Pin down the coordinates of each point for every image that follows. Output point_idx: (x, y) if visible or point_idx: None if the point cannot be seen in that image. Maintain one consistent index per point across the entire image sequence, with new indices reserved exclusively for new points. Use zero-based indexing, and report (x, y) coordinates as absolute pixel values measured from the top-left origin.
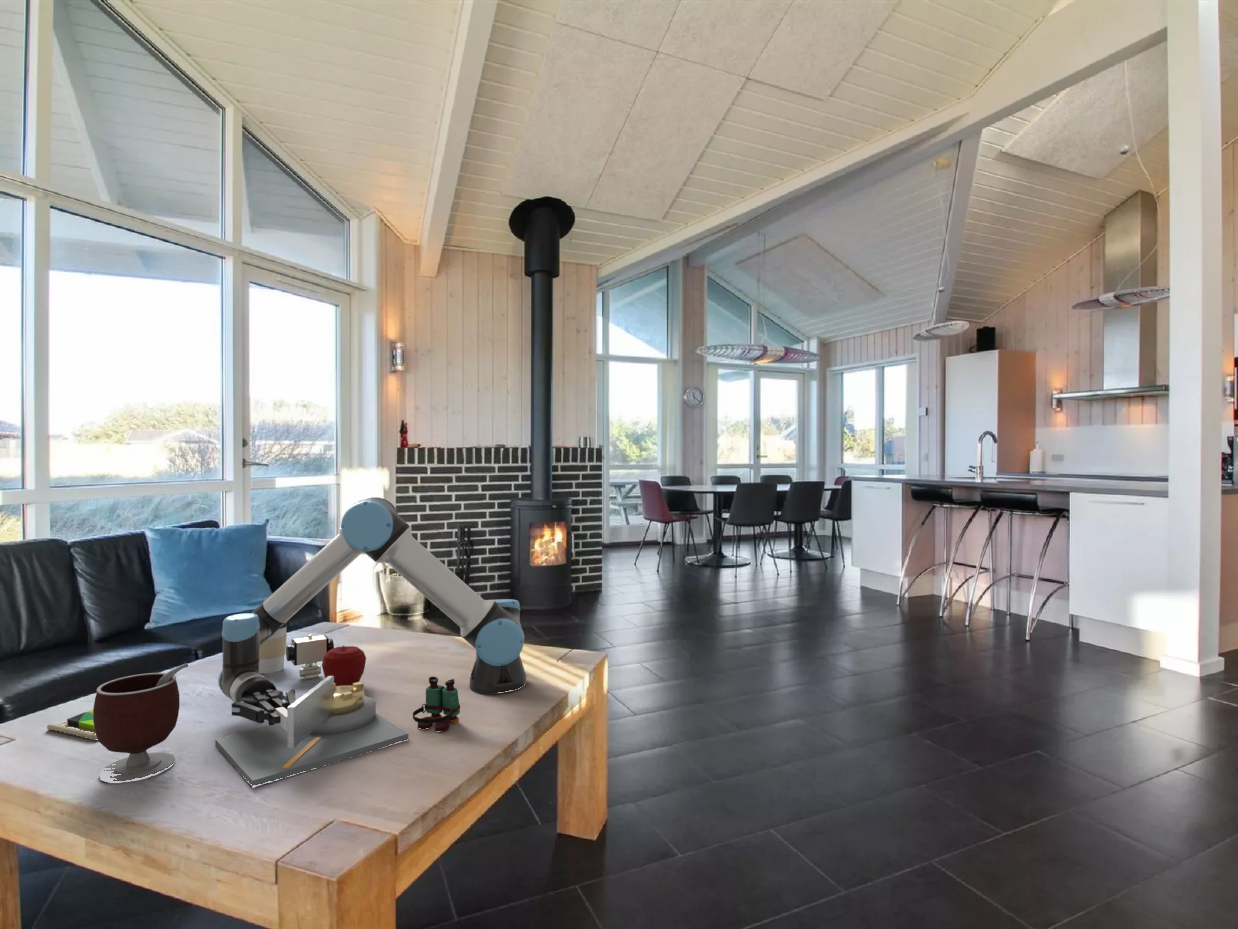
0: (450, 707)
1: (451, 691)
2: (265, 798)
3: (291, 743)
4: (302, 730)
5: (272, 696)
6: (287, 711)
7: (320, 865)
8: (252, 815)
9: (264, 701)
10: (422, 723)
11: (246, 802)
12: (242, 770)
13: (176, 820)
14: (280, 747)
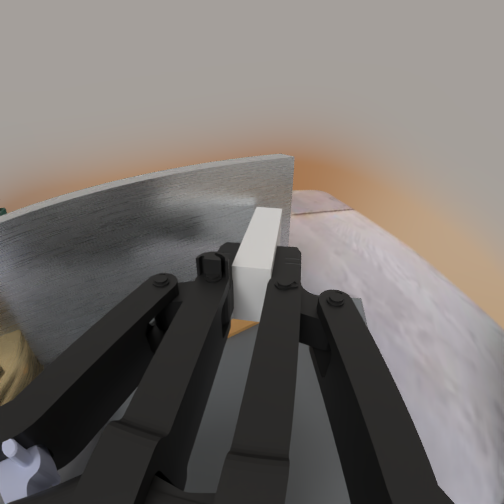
0: None
1: (2, 208)
2: (344, 277)
3: None
4: None
5: (151, 437)
6: (293, 169)
7: (327, 196)
8: (367, 257)
9: (248, 429)
10: None
11: (371, 283)
12: None
13: (456, 298)
14: (234, 412)
